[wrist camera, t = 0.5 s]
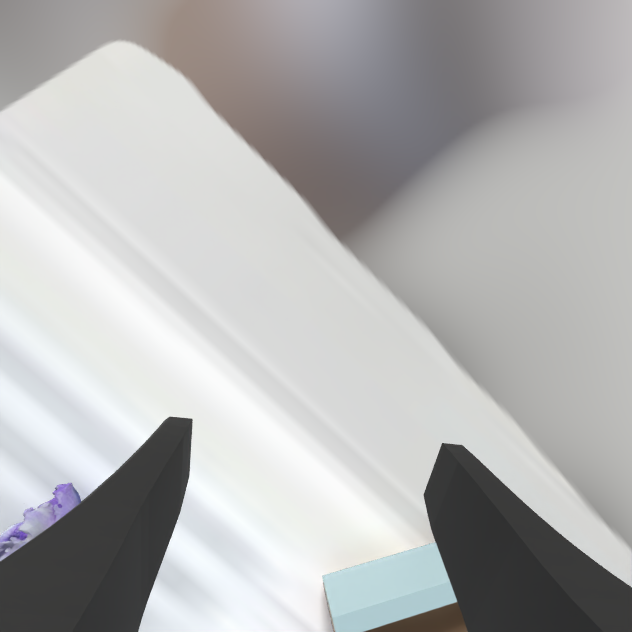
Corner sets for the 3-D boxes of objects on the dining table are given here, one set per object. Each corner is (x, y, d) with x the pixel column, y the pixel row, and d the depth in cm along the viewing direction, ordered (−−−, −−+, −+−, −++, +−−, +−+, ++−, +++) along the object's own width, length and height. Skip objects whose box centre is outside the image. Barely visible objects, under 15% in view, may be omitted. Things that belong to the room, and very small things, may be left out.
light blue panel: (514, 535, 33) (573, 564, 27) (325, 592, 31) (337, 640, 24) (509, 520, 34) (566, 545, 27) (322, 575, 32) (332, 617, 25)
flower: (125, 603, 27) (-31, 548, 23) (55, 677, 29) (-102, 635, 25) (153, 496, 36) (42, 443, 32) (98, 557, 37) (-14, 513, 34)
